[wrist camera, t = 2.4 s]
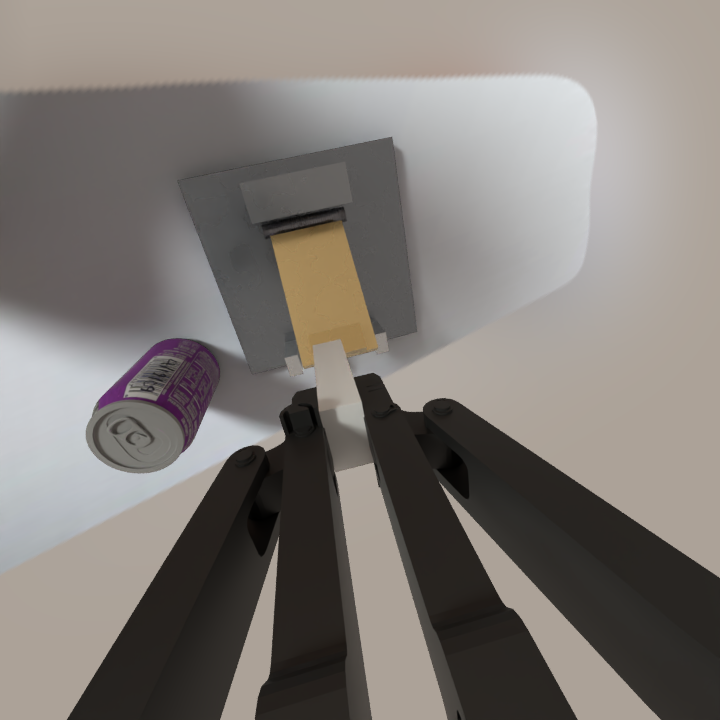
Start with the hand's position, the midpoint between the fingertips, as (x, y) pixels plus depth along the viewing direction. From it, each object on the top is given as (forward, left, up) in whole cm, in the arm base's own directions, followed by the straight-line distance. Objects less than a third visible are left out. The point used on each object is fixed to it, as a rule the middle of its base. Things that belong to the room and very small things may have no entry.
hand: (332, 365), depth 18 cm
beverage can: (-7, -14, -18) cm, 24 cm away
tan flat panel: (-1, +2, -12) cm, 12 cm away
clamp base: (-1, +2, -18) cm, 18 cm away
